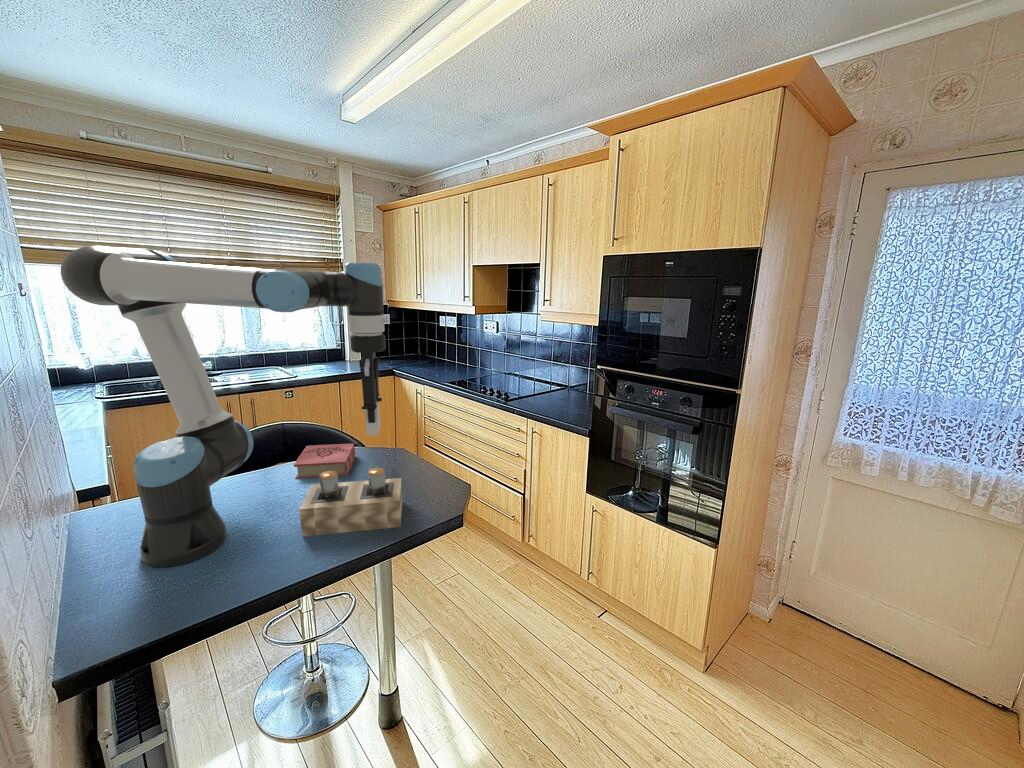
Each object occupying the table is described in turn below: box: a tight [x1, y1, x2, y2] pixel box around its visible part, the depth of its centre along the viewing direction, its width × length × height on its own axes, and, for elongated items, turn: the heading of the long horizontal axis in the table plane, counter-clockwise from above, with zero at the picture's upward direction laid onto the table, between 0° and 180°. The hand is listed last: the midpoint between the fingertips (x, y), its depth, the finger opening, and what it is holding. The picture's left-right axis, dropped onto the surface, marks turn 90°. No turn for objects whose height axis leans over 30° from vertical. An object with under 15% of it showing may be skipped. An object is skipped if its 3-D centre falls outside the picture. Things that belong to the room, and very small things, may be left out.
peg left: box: [318, 471, 340, 500], centre depth 104 cm, size 4×4×7 cm
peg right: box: [367, 467, 386, 496], centre depth 106 cm, size 4×4×7 cm
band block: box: [299, 477, 403, 538], centre depth 106 cm, size 22×12×7 cm, turn 102°
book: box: [293, 443, 356, 480], centre depth 134 cm, size 14×15×5 cm
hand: (373, 431), depth 103 cm, fingers open, 3 cm apart
